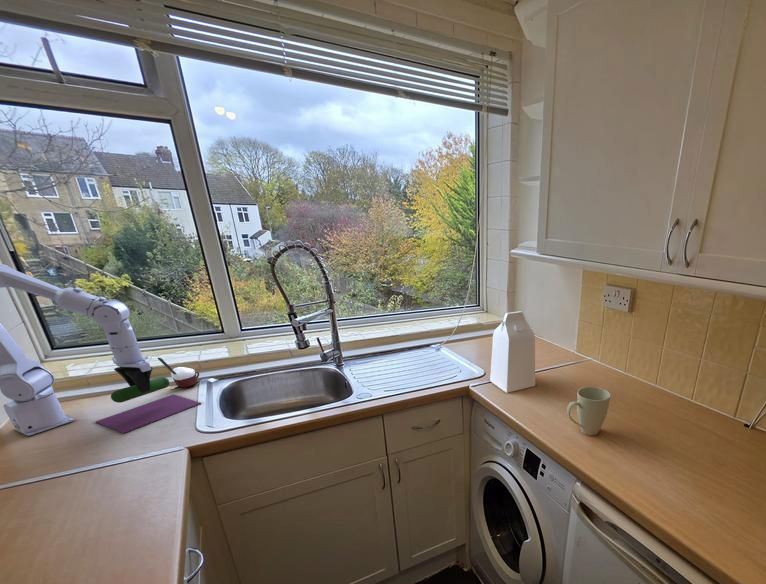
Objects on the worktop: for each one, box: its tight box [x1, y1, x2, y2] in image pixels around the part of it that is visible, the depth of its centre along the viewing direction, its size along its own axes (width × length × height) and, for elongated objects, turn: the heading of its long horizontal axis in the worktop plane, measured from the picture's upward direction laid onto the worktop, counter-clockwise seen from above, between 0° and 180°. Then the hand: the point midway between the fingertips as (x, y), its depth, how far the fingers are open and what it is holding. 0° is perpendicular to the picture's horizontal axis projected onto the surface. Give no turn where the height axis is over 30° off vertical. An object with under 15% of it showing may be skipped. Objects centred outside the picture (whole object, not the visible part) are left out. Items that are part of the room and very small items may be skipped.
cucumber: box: [110, 376, 170, 403], centre depth 118 cm, size 14×4×4 cm, turn 156°
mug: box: [566, 386, 611, 436], centre depth 113 cm, size 11×10×12 cm
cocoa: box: [157, 357, 200, 389], centre depth 136 cm, size 10×6×12 cm, turn 137°
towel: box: [95, 394, 202, 434], centre depth 121 cm, size 20×14×1 cm
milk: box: [489, 310, 536, 394], centre depth 141 cm, size 12×12×26 cm
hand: (141, 389), depth 118 cm, fingers closed on cucumber, 3 cm apart
